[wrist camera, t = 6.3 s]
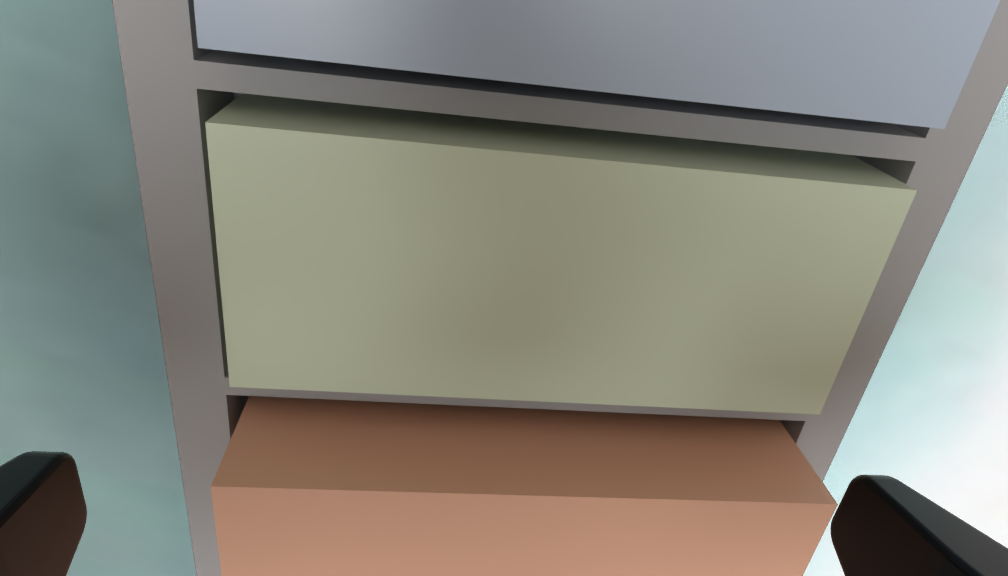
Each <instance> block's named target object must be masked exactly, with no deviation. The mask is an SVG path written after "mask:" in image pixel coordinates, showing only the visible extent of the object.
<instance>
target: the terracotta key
mask: <svg viewBox="0 0 1008 576" xmlns="http://www.w3.org/2000/svg"><path fill="white" fill-rule="evenodd" d="M211 494H212V502H213V511H214V519H215V527H216V535H217V544H218V552H219V560H220V569H221V576H803V574H804V572H805V570H806V568H807V566H808V564H809V562H810V560H811V558H812V556H813V554H814V551H815V549H816V547H817V545H818V543H819V541H820V539H821V537H822V535H823V533H824V531H825V529H826V527H827V525H828V523H829V521H830V519H831V517H832V515H833V513H834V511H835V509H836V507H837V505H838V504H837V503H836V501H835V500H834V498H833V497H832V495H831V494H830V492H829V491H828V490H827V488H826V487H825V485H824V484H823V482H822V481H821V479H820V478H819V477H818V475H817V474H816V472H815V471H814V469H813V468H812V466H811V465H810V463H809V462H808V461H807V459H806V458H805V456H804V455H803V453H802V452H801V450H800V449H799V448H798V446H797V445H796V443H795V442H794V440H793V439H792V437H791V436H790V435H789V433H788V432H787V430H786V429H785V427H784V426H783V424H782V423H781V422H780V420H770V419H748V418H726V417H704V416H682V415H660V414H638V413H616V412H594V411H572V410H550V409H528V408H506V407H484V406H462V405H440V404H418V403H396V402H374V401H352V400H330V399H308V398H286V397H264V396H249V398H248V400H247V402H246V405H245V407H244V409H243V412H242V414H241V416H240V419H239V421H238V423H237V426H236V428H235V430H234V433H233V435H232V437H231V440H230V442H229V444H228V447H227V449H226V451H225V454H224V456H223V459H222V461H221V463H220V466H219V468H218V470H217V473H216V475H215V477H214V480H213V482H212V484H211Z"/></svg>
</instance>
